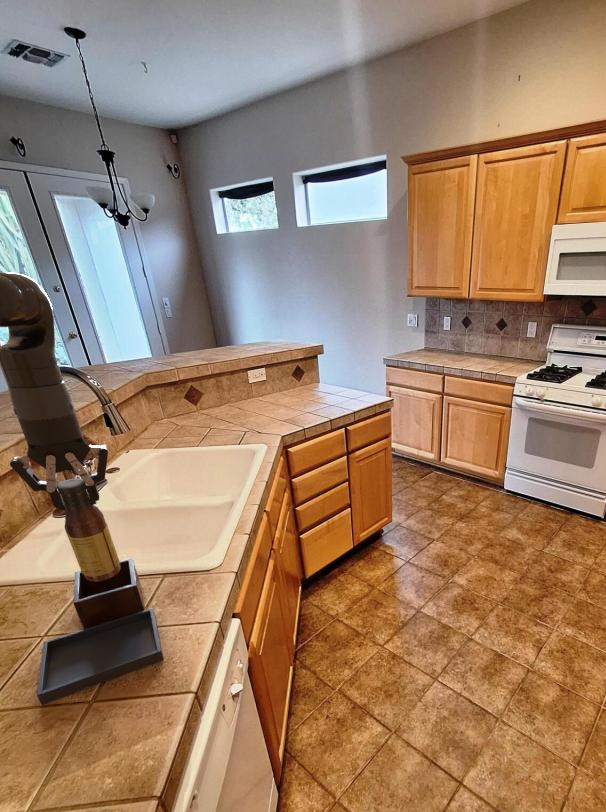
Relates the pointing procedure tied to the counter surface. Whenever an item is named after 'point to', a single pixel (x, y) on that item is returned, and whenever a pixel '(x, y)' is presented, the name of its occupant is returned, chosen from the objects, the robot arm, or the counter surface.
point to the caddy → (108, 596)
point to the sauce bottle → (88, 532)
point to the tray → (98, 655)
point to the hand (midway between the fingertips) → (78, 505)
